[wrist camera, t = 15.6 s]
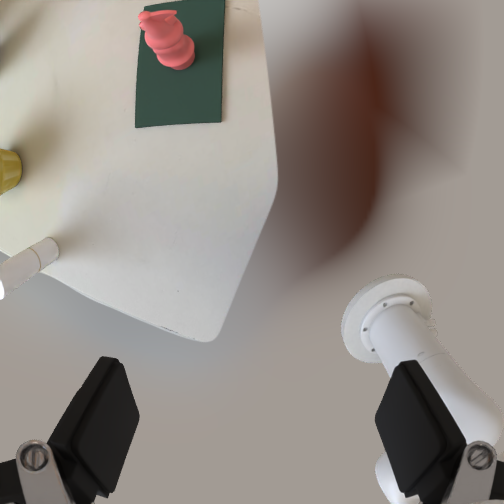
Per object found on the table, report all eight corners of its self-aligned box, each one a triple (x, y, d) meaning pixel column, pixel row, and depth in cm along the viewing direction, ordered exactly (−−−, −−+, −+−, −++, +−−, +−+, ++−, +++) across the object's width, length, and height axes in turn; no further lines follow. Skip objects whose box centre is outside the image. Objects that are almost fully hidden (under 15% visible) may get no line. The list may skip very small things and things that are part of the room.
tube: (58, 239, 41) (1, 274, 27) (59, 263, 43) (6, 303, 29) (40, 236, 41) (-17, 267, 27) (42, 258, 43) (-11, 295, 28)
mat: (225, -2, 30) (225, -4, 29) (221, 122, 36) (220, 122, 36) (145, 8, 30) (144, 6, 29) (136, 128, 36) (134, 127, 36)
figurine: (198, 37, 31) (172, -14, 17) (201, 69, 33) (174, 26, 19) (162, 45, 32) (120, 1, 17) (164, 76, 33) (120, 42, 19)
